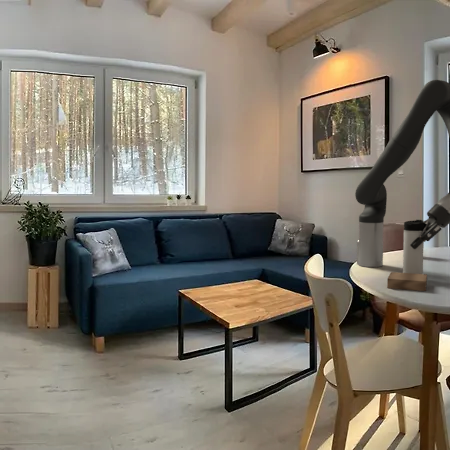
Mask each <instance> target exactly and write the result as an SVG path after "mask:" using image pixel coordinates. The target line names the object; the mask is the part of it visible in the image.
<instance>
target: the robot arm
mask: <svg viewBox="0 0 450 450" xmlns="http://www.w3.org/2000/svg"><path fill="white" fill-rule="evenodd" d="M436 111H437V113H438V115H440V117H441V119H442V120H443V122H444V125H445V127H446V130H447V133H448V137H449V139H450V82H448V81H445V80H440V79H433V80H430V81H428V82H426V83H425V84H424V85H423V86H422V87H421V89H420V91H419V93H418V94H417V97H416V98H415V101H414V103H413V105H412V106H411V109H410V110H409V111H408V113H407V115H406V116H405V118H404V119H403V121H402V122H401V123H400V125H399V126H398V128H397V129H396V131H395V132H394V133H393V135H392V136H391V138H390V139H389V140H388V143H387V145H386V146H385V147H384V149H383V151H382V152H381V154H380V156H379V157H378V159H377V160H376V162H375V163H374V164H373V166H372V168H371V169H370V170H369V171H368V173H366V175H365V177H364V178H363V179H362V180H361V181H360V182H359V184H358V185H357V187H356V188H355V194H354V196H355V200H356V202H357V203H358V204H359V205H363V206H364V209H363V211H362V212H361V213H360V214H359V215H358V240H357V241H356V264H357V265H358V266H361V267H366V268H379V267H382V266H383V265H384V263H383V262H384V219H385V216H386V213H387V201H388V200H387V197H388V193H387V192H388V191H387V188H386V186H385V182H386V181H387V179H389V178H390V176H392V174H394V173H395V172H396V171H397V170H399V169H400V168H401V167H402V166H403V165H404V164H405V163H407V161H408V160H410V158H411V156H412V154H413V153H414V151H416V149H417V147H418V145H419V143H420V141H421V138H422V135H423V132H424V129H425V128H426V125H427V123H428V122H429V121H430V119H431V118H432V116H433V115H434V114H435V113H436ZM426 215H427V216H428V218H427V219H426V220H423V221H424V227H423V229H422V230H421V234H420V235H419V237H417V238H416V239H415V240H414V241H413V242H412V243H411V244H410V246H411V247H412V248H413V249H416V248H417V247H418V246H420V245H421V244H422V243H423V242H424V243H426V242H429V241H430V240H432V239H433V238H434V237H435V236H436V235H437V234H438V233H440V232H441V231H442V229H445V228H446V227H447V226H448V225H449V224H450V191H449V192H447V194H446V195H444V196H443V197H441V199H440V200H438V201H437V202H436V203H435V204H434V205H433V206H432V207H431V208H430V209H429V210H428V211H427V212H426ZM424 243H423V244H424ZM403 244H404V241H403Z"/></svg>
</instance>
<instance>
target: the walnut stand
mask: <svg viewBox="0 0 450 450" xmlns="http://www.w3.org/2000/svg"><path fill="white" fill-rule="evenodd" d="M427 279H428V274H427V273H425V274H424V273H423V274H413V273H403V272H397V271H396V272H395V271H394V272H393V271H391V272H390V273H389V276H388V277H387V281H386V282H387V285H386V286H387V287H386V288H387V289H395V290H406V291H407V290H409V291H421V292H426V290H427Z"/></svg>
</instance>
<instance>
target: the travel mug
mask: <svg viewBox="0 0 450 450" xmlns="http://www.w3.org/2000/svg"><path fill="white" fill-rule="evenodd" d="M424 221H425V220H422V219H414V220H407V221H404V223H403V242H404V243H403V246H402V247H403V255H402V258H403V260H402V273H413V274H424V243H425V242H423V243H422V244H421V245H420V246H418V247H417V248H416V249H413V248H412V247H411V246H410V244H411V243H412V242H413V241H414V240H415V239H416V238H417V237H419V235H420V234H421V230H422V229H423V227H424Z"/></svg>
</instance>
